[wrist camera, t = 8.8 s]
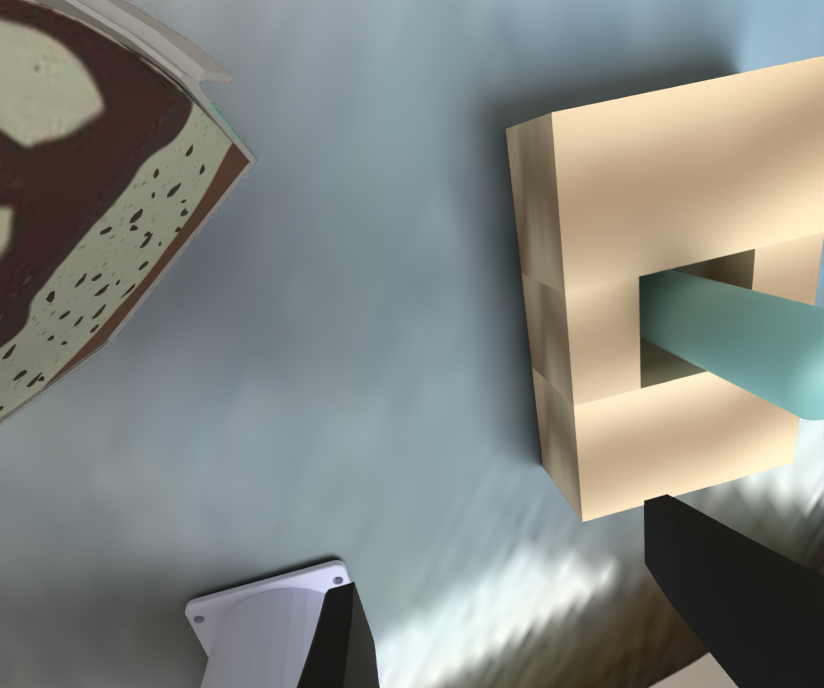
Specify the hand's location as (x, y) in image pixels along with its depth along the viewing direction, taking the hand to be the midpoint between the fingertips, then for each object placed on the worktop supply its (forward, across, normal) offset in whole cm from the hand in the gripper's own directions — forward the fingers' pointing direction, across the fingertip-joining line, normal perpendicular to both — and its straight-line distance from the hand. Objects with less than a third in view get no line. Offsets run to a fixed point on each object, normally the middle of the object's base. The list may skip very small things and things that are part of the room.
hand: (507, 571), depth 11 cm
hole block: (+10, -10, -2) cm, 15 cm away
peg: (+10, -10, -2) cm, 15 cm away
